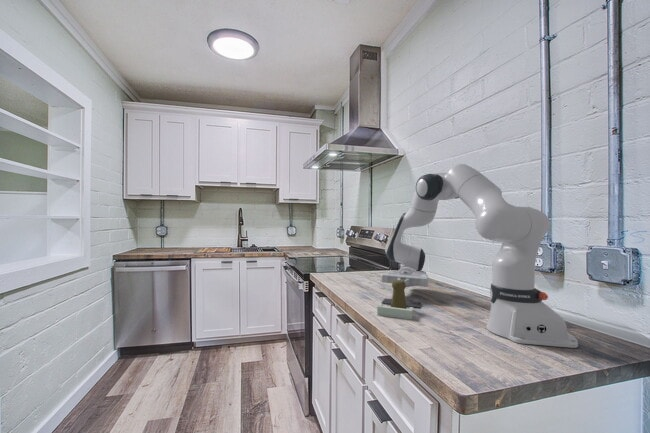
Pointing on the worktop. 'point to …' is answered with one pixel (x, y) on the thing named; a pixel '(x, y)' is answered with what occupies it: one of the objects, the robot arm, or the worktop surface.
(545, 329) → the robot arm
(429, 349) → the worktop surface
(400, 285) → the cork
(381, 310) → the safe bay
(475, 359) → the worktop surface
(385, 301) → the trap squares
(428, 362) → the worktop surface
